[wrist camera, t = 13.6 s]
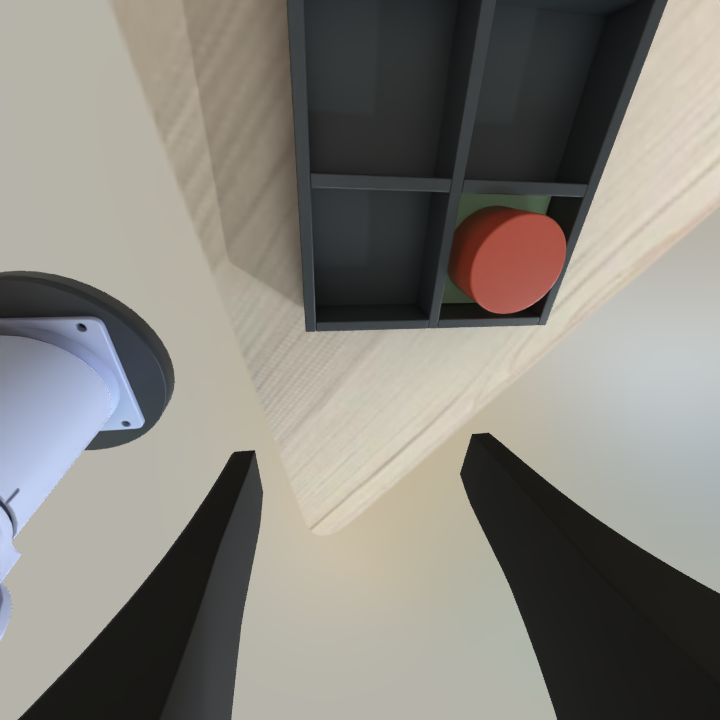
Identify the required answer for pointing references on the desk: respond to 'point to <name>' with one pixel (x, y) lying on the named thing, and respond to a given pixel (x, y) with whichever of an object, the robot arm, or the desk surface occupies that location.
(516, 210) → the cylinder
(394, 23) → the grid
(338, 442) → the desk surface
